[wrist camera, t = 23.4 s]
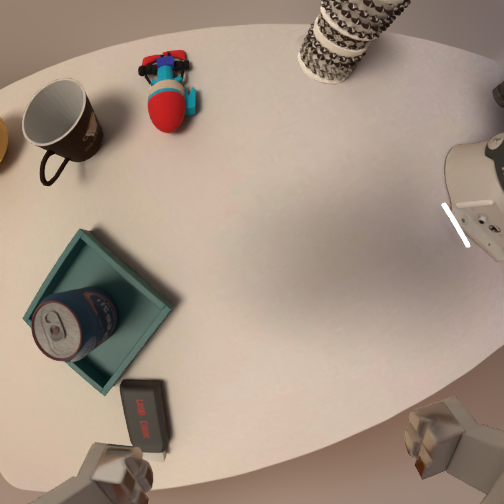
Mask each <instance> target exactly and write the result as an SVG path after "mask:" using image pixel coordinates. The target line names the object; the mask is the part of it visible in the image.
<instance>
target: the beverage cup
mask: <svg viewBox="0 0 504 504" xmlns="http://www.w3.org/2000/svg"><path fill="white" fill-rule="evenodd" d="M493 96H494V99H495V100H496V102H497V103H498V104H499V105H500V106H501V107H504V81H503V82H502V83H501V84H499V85H498V86H497V87H496V88H495V89H494V90H493Z"/></svg>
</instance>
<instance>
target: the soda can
mask: <svg viewBox="0 0 504 504" xmlns="http://www.w3.org/2000/svg"><path fill="white" fill-rule="evenodd" d="M118 323H119V311H118V308H117V305H116V303H115V301H114V299H113V298H112V297H111V295H110V294H109V293H107V292H106V291H105V290H103V289H101V288H98V287H93V286H90V287H84V288H79V289H74V290H69V291H64V292H59V293H54V294H51V295H49V296H47V297H46V298H44V299H43V300H42V302H41V303H40V304H39V306H38V307H37V309H36V310H35V312H34V314H33V317H32V322H31V329H32V335H33V338H34V341H35V343H36V345H37V346H38V348H39V349H40V350H41V351H42V353H44V354H45V355H46V356H47V357H49V358H51V359H53V360H56V361H64V362H74V361H78V360H80V359H82V358H83V357H84V356H86V355H87V354H89V353H90V352H91V351H93V350H94V349H95V348H97V347H98V346H99V345H101V344H102V343H103V342H105V341H106V340H107V339H109V338H110V337H111V336H112V335H113V334H114V333H115V331H116V329H117V327H118Z"/></svg>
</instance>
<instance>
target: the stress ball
mask: <svg viewBox="0 0 504 504" xmlns="http://www.w3.org/2000/svg"><path fill="white" fill-rule="evenodd" d="M7 144H8V134H7V129H6V126H5V124H4V122H3V121H2V119H1V118H0V162H1V161H2V159H3V157H4V155H5V153H6V149H7Z"/></svg>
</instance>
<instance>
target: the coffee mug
mask: <svg viewBox="0 0 504 504" xmlns="http://www.w3.org/2000/svg"><path fill="white" fill-rule="evenodd" d="M22 131H23V134H24V136H25V138H26V139H27V141H29V142H30V143H31V144H33V145H36V146H38V147H40V148H43V149H45V150H47V152H46V154H45V155H44V157H43V159H42V161H41V165H40V180H41V182H42V184H43V185H44V186H50V185H52V184H53V183H54V182H55V181H56V180H57V178H58V177H59V176H60V174H61V172H62V171H63V169H64V167H65V166H66V164H67V163H68V161H70V160H71V161H73V162H82V161H85V160H87V159H89V158H91V157H92V156H93V155H94V154H95V153H96V152H97V151H98V150H99V148H100V146H101V143H102V140H103V131H102V128H101V126H100V124H99V122H98V119H97V117H96V115H95V113H94V110H93V108H92V106H91V104H90V101H89V99H88V97H87V95H86V92H85V90H84V88H83V86H82V85H81V84H80V83H79V82H78V81H76V80H74V79H71V78H62V79H57V80H55V81H52V82H50V83H48V84H46V85H45V86H44V87H42V88H41V89H40V90H39V91H38V92H37V93H36V94H35V95H34V96H33V97H32V99H31V100H30V102H29V103H28V105H27V107H26V109H25V112H24V115H23V119H22ZM54 154H57V155H59V156H62V157H64V158H65V159H64V161H63V163H62V164H61V166H60V168H59V169H58V171H57V172H56V174H55V176H54V177H53V178H52V179H51V180H50V181H48V182H47V180H46V179H45V165H46V162H47V160H48V158H49V157H50V156H51V155H54Z"/></svg>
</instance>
